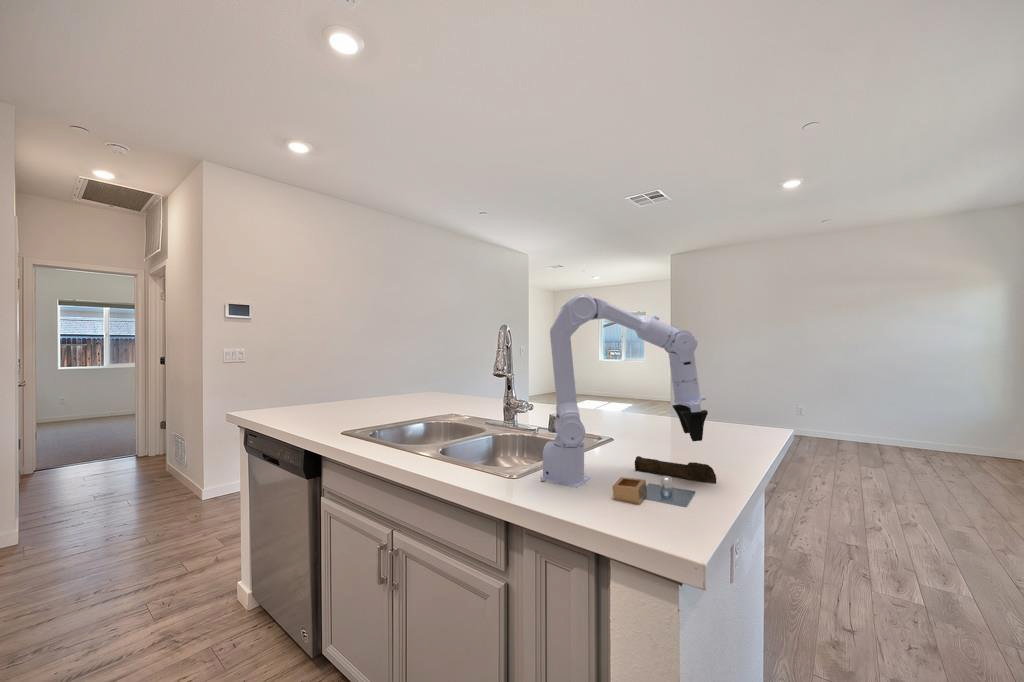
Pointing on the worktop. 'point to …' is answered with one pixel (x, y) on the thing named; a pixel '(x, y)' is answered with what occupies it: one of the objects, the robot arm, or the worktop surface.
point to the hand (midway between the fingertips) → (692, 436)
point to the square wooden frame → (630, 490)
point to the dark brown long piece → (677, 469)
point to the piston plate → (673, 499)
